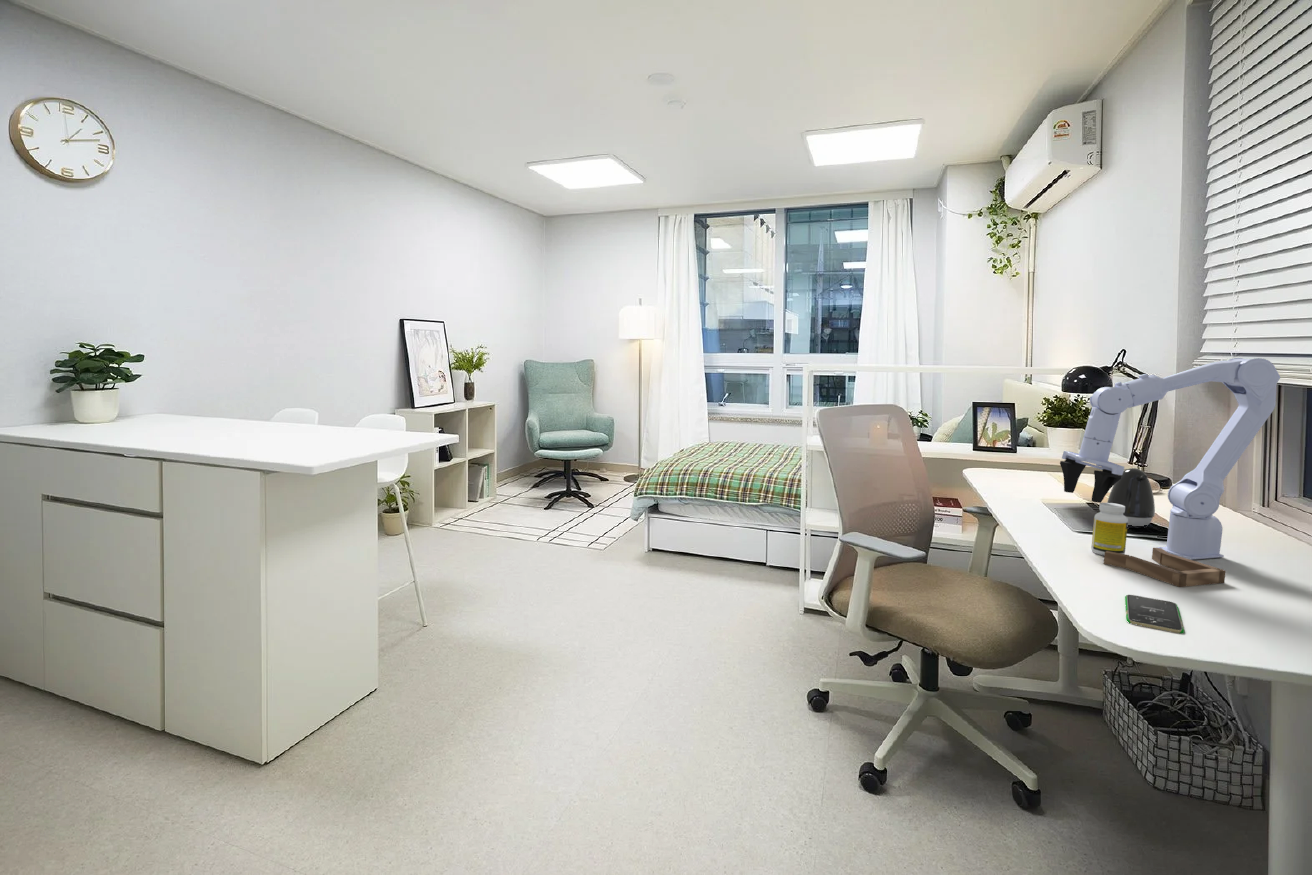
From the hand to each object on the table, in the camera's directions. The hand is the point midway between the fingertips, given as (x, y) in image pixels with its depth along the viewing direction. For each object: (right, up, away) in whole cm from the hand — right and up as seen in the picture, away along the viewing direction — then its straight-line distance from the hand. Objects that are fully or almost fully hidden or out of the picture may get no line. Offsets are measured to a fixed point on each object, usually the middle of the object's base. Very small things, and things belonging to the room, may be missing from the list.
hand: (1082, 496), depth 152 cm
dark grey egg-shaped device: (+24, -9, +18) cm, 31 cm away
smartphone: (-13, -17, -39) cm, 45 cm away
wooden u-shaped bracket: (+5, -14, -18) cm, 23 cm away
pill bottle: (+2, -12, -5) cm, 14 cm away
